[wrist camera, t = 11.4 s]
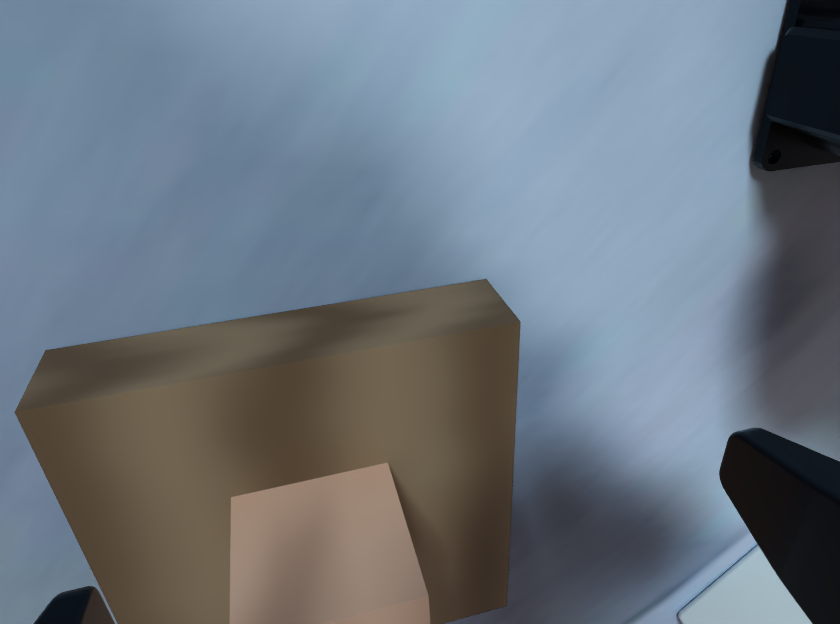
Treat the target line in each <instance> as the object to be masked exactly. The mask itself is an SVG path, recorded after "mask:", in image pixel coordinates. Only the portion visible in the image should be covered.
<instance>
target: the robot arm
mask: <svg viewBox="0 0 840 624" xmlns="http://www.w3.org/2000/svg"><path fill="white" fill-rule="evenodd" d="M771 152H772V155H771V157H770V158H769V159H768V157H769V155H770V153H771ZM753 161H754V164H755V165H756V166H757V167H758V168H761V169H763V170H766V171H776V170H783V169H790V168H798V167H805V166H812V165H819V164H827V163H834V162H840V0H791V1H790V5H789V9H788V13H787V18H786V22H785V26H784V30H783V35H782V39H781V43H780V47H779V51H778V56H777V60H776V64H775V68H774V73H773V77H772V81H771V85H770V89H769V94H768V98H767V102H766V106H765V110H764V115H763V119H762V123H761V127H760V132H759V136H758V140H757V144H756V148H755V153H754V160H753ZM719 475H720V481H721V483H722V486H723V488H724V490H725V491H726V493H727V495H728V496H729V498H730V500H731V501H732V503H733V505H734V506H735V508H736V509H737V511H738V513H739V514H740V516H741V518H742V519H743V521H744V523H745V524H746V526H747V527H748V529H749V531H750V532H751V534H752V536H753V537H754V539H755V541H756V542H757V544H758V545H759V547H760V549H761V550H762V552H763V554H764V555H765V557H766V559H767V560H768V562H769V563H770V565H771V567H772V568H773V570H774V571H775V573H776V574H777V576H778V577H779V579H780V580H781V582H782V583H783V584H784V586H785V587H786V589H787V590H788V591H789V593H790V594H791V596H792V597H793V598H794V600H795V601H796V602H797V604H798V605H799V606H800V608H801V609H802V610H803V612H804V613H805V614H806V616H807V617H808V618H809V620H810V621H811V623H812V624H840V462H839V461H837V460H834V459H832V458H830V457H827V456H825V455H823V454H820V453H818V452H816V451H813V450H811V449H809V448H806V447H804V446H802V445H799V444H797V443H795V442H792V441H790V440H787V439H785V438H783V437H780V436H778V435H776V434H773V433H771V432H769V431H766V430H764V429H761V428H750V429H746V430H742V431H737V432H734V433H733V434H732V435H731V436H730V437H729V439H728V442H727V445H726V449H725V452H724V456H723V460H722V463H721V467H720V471H719ZM34 624H115V623H114V621H113V619H112V617H111V615H110V613H109V611H108V609H107V607H106V605H105V603H104V601H103V599H102V597H101V595H100V593H99V591H98V590H97V589H96V588H95V587H93V586H87V587H83V588H78V589H74V590H70V591H66V592H63V593H60V594H58V595H57V596H56V597H55V598H53V599H52V601H51V602H50V603H49V604H48V606H47V607H46V608H45V610H44V611H43V612H42V613H41V615H40V616H39V617H38V619H37V620H36V621H35V623H34Z"/></svg>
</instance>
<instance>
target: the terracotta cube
mask: <svg viewBox="0 0 840 624" xmlns="http://www.w3.org/2000/svg"><path fill="white" fill-rule="evenodd" d="M230 624H430V611H429V596H428V592H427V589H426V586H425V582H424V579H423V576H422V573H421V569H420V566H419V563H418V560H417V556H416V553H415V550H414V546H413V543H412V540H411V537H410V533H409V530H408V527H407V524H406V520H405V517H404V514H403V510H402V507H401V504H400V501H399V497H398V494H397V491H396V487H395V484H394V481H393V478H392V474H391V471H390V468H389V465H388V463H384V464H379V465H375V466H370V467H366V468H361V469H357V470H352V471H347V472H343V473H338V474H334V475H329V476H325V477H320V478H316V479H311V480H307V481H302V482H298V483H293V484H289V485H284V486H280V487H275V488H271V489H266V490H262V491H257V492H253V493H248V494H244V495H239V496H235V497H231V538H230Z"/></svg>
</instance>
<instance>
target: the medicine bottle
mask: <svg viewBox="0 0 840 624" xmlns="http://www.w3.org/2000/svg"><path fill="white" fill-rule="evenodd" d="M678 617H679V619H680V621H681V622H682V624H812V623H811V621H810V620H809V618H808V617H807V616H806V614H805V613H804V612H803V610H802V609H801V608H800V606H799V605H798V604H797V602H796V601H795V600H794V598H793V597H792V596H791V594H790V593H789V591H788V590H787V589H786V587H785V586H784V584H783V583H782V582H781V580H780V579H779V577H778V576H777V574H776V573H775V571H774V570H773V568H772V567H771V565H770V563H769V562H768V560H767V559H766V557H765V555H764V554H763V552H762V550H761V549H760V547H759V545H757V546H756V547H754V548H753V549H752V550H751V551H750V552H749V553H747V554H746V555H745V556H744V557H743V558H742V559H740V560H739V561H738V562H737V563H736V564H735V565H733V566H732V567H731V568H730V569H729V570H727V571H726V572H725V573H724V574H723V575H722V576H720V577H719V578H718V579H717V580H716V581H715V582H713V583H712V584H711V585H710V586H709V587H707V588H706V589H705V590H704V591H703V592H702V593H700V594H699V595H698V596H697V597H696V598H695V599H693V600H692V601H691V602H690V603H689V604H688V605H686V606H685V607H684V608H683V609H682V610H680V611H679V615H678Z"/></svg>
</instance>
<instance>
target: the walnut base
mask: <svg viewBox="0 0 840 624" xmlns="http://www.w3.org/2000/svg"><path fill="white" fill-rule="evenodd" d="M519 342H520V320H519V319H518V318H517V317H516V315H515V314H514V313H513V312H512V310H511V309H510V308H509V307H508V305H507V304H506V303H505V302H504V300H503V299H502V298H501V297H500V295H499V294H498V293H497V292H496V290H495V289H494V288H493V287H492V285H491V284H490V283H489V282H488V280H487V279H483V280H477V281H471V282H465V283H458V284H452V285H446V286H440V287H434V288H428V289H421V290H415V291H409V292H403V293H397V294H391V295H384V296H378V297H372V298H366V299H360V300H354V301H347V302H341V303H335V304H329V305H323V306H317V307H310V308H304V309H298V310H292V311H286V312H280V313H273V314H267V315H261V316H255V317H249V318H243V319H236V320H230V321H224V322H218V323H212V324H206V325H199V326H193V327H187V328H181V329H175V330H169V331H162V332H156V333H150V334H144V335H138V336H132V337H125V338H119V339H113V340H107V341H101V342H95V343H88V344H82V345H76V346H70V347H64V348H58V349H51V350H46V351H45V353H44V355H43V357H42V359H41V361H40V363H39V365H38V367H37V369H36V371H35V373H34V375H33V377H32V379H31V381H30V383H29V385H28V387H27V389H26V391H25V393H24V395H23V397H22V399H21V401H20V403H19V405H18V407H17V409H16V411H15V414H16V416H17V418H18V420H19V422H20V424H21V426H22V428H23V430H24V432H25V434H26V437H27V439H28V441H29V443H30V445H31V447H32V449H33V451H34V453H35V455H36V457H37V459H38V461H39V463H40V465H41V467H42V469H43V471H44V473H45V475H46V477H47V480H48V482H49V484H50V486H51V488H52V490H53V492H54V494H55V496H56V498H57V500H58V502H59V504H60V506H61V508H62V510H63V512H64V514H65V516H66V518H67V521H68V523H69V525H70V527H71V529H72V531H73V533H74V535H75V537H76V539H77V541H78V543H79V545H80V547H81V549H82V551H83V553H84V555H85V557H86V559H87V562H88V564H89V566H90V568H91V570H92V572H93V574H94V576H95V578H96V580H97V582H98V584H99V586H100V588H101V590H102V592H103V594H104V596H105V598H106V600H107V603H108V605H109V607H110V609H111V611H112V613H113V615H114V617H115V619H116V621H117V623H118V624H230V538H231V497H235V496H239V495H244V494H248V493H253V492H257V491H262V490H266V489H271V488H275V487H280V486H284V485H289V484H293V483H298V482H302V481H307V480H311V479H316V478H320V477H325V476H329V475H334V474H338V473H343V472H347V471H352V470H357V469H361V468H366V467H370V466H375V465H379V464H384V463H388V465H389V468H390V471H391V474H392V478H393V481H394V484H395V487H396V491H397V494H398V497H399V501H400V504H401V507H402V510H403V514H404V517H405V520H406V524H407V527H408V530H409V533H410V537H411V540H412V543H413V546H414V550H415V553H416V556H417V560H418V563H419V566H420V569H421V573H422V576H423V579H424V582H425V586H426V589H427V592H428V596H429V611H430V624H443V623H447V622H451V621H454V620H458V619H461V618H465V617H469V616H472V615H476V614H479V613H483V612H487V611H490V610H494V609H497V608H501V607H505V606H507V591H508V570H509V549H510V529H511V508H512V487H513V466H514V446H515V425H516V404H517V383H518V362H519Z"/></svg>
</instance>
